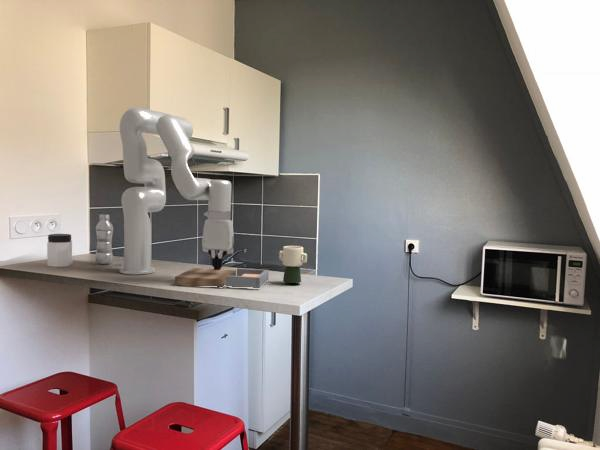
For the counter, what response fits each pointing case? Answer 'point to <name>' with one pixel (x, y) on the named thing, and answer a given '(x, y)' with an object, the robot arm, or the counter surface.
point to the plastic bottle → (104, 240)
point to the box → (247, 278)
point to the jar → (59, 250)
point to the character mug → (292, 263)
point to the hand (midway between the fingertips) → (217, 269)
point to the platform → (204, 277)
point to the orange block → (251, 275)
